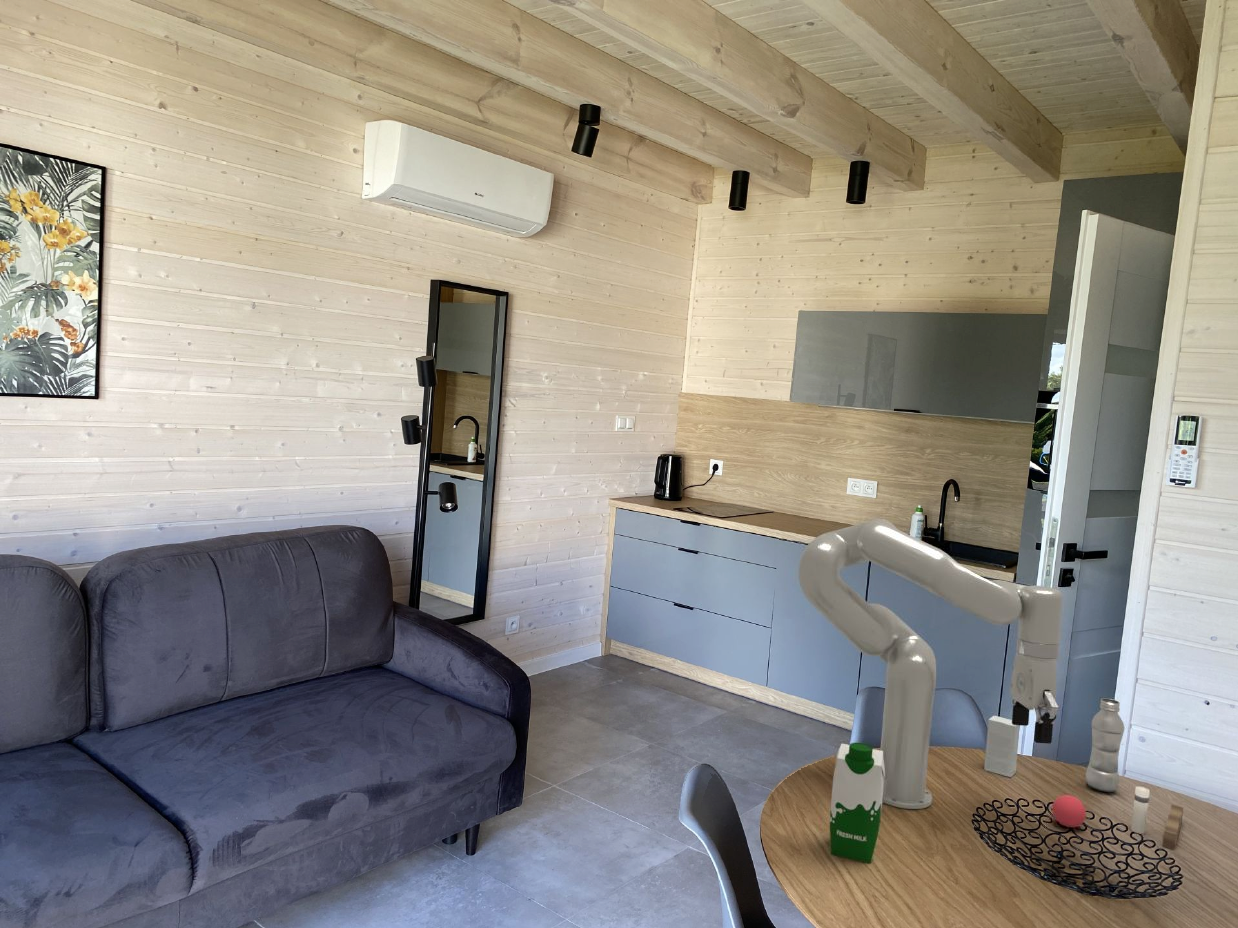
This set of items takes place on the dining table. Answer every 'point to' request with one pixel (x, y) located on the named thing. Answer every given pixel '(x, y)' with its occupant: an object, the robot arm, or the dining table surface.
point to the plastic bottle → (1105, 747)
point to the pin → (1140, 810)
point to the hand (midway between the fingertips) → (1031, 733)
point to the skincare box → (1001, 746)
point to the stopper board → (1172, 827)
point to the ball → (1069, 811)
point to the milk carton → (856, 801)
